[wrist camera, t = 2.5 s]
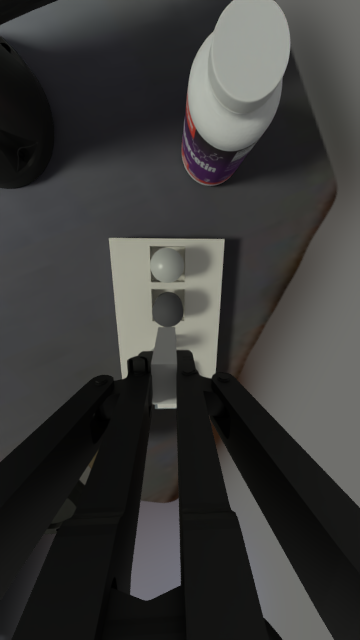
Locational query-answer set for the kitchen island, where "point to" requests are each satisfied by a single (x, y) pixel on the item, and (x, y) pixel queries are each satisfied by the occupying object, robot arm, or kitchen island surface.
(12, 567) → the robot arm
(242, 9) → the pill bottle
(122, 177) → the kitchen island surface
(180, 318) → the button black
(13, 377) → the kitchen island surface
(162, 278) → the button grey
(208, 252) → the panel
